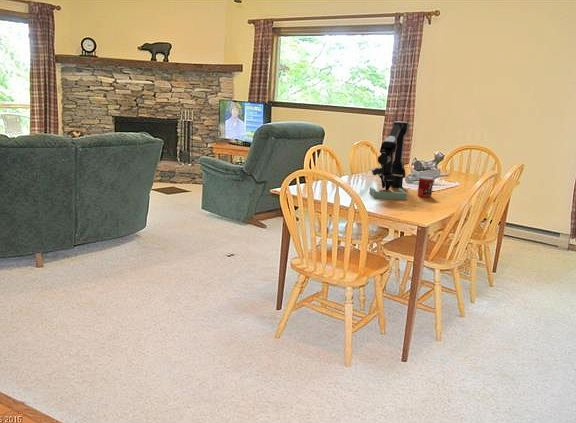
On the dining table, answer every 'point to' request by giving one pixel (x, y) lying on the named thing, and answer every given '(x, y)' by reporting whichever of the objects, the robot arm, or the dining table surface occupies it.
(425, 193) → the canned food
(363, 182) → the dining table surface
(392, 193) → the box
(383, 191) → the tan wooden block
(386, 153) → the robot arm
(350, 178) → the dining table surface
